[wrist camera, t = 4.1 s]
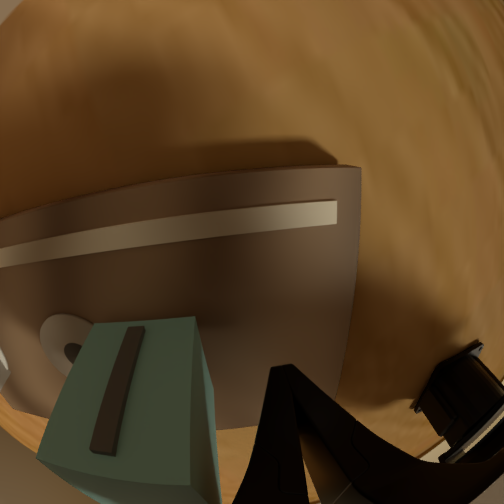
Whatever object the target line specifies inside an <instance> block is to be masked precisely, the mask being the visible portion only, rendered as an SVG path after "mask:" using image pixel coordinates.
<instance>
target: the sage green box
mask: <svg viewBox="0 0 504 504" xmlns="http://www.w3.org/2000/svg"><path fill="white" fill-rule="evenodd" d="M36 459H38V460H39V461H40V462H41V463H42V464H44V465H45V466H46V467H47V468H49V469H50V470H51V471H52V472H54V473H55V474H57V475H58V476H59V477H61V478H62V479H63V480H65V481H66V482H68V483H69V484H70V485H72V486H73V487H75V488H76V489H78V490H79V491H81V492H82V493H84V494H86V495H87V496H89V497H91V498H92V499H94V500H96V501H97V502H99V503H101V504H222V498H221V488H220V478H219V467H218V454H217V441H216V425H215V408H214V389H213V385H212V382H211V378H210V374H209V371H208V367H207V363H206V359H205V355H204V351H203V347H202V343H201V339H200V335H199V331H198V326H197V322H196V318H195V316H192V317H181V318H170V319H158V320H145V321H130V322H112V323H94V325H93V327H92V329H91V331H90V332H89V334H88V336H87V338H86V340H85V342H84V344H83V346H82V348H81V350H80V352H79V354H78V356H77V358H76V360H75V362H74V364H73V366H72V368H71V370H70V372H69V374H68V376H67V379H66V381H65V383H64V385H63V387H62V390H61V392H60V394H59V397H58V399H57V401H56V404H55V406H54V409H53V411H52V413H51V416H50V419H49V421H48V424H47V426H46V429H45V432H44V435H43V437H42V440H41V443H40V446H39V449H38V452H37V456H36Z"/></svg>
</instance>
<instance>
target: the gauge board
mask: <svg viewBox="0 0 504 504" xmlns="http://www.w3.org/2000/svg"><path fill="white" fill-rule="evenodd" d="M360 218H361V167H356V166H351V165H306V166H285V167H269V168H256V169H244V170H233V171H224V172H215V173H206V174H198V175H191V176H183V177H176V178H170V179H163V180H157V181H151V182H145V183H140V184H134V185H129V186H123V187H118V188H113V189H109V190H104V191H99V192H95V193H90V194H86V195H82V196H78V197H73V198H69V199H65V200H62V201H58V202H54V203H50V204H47V205H43V206H40V207H36V208H33V209H29V210H26V211H23V212H20V213H16V214H13V215H10V216H7V217H4V218H1V219H0V393H1V394H2V396H3V397H4V398H5V400H6V401H7V402H8V403H9V405H10V406H11V407H12V408H13V409H15V410H19V411H22V412H25V413H29V414H33V415H36V416H40V417H44V418H48V419H50V416H51V413H52V411H53V409H54V406H55V404H56V401H57V399H58V397H59V394H60V392H61V390H62V387H63V385H64V383H65V381H66V379H67V376H68V374H69V372H70V370H71V368H72V366H73V364H74V362H75V360H76V358H77V356H78V354H79V352H80V350H81V348H82V346H83V344H84V342H85V340H86V338H87V336H88V334H89V332H90V331H91V329H92V327H93V325H94V323H112V322H130V321H145V320H158V319H170V318H181V317H192V316H195V318H196V322H197V326H198V331H199V335H200V339H201V343H202V347H203V351H204V355H205V359H206V363H207V367H208V371H209V374H210V378H211V382H212V385H213V389H214V408H215V425H216V430H223V429H234V428H242V427H250V426H257V425H259V420H260V415H261V411H262V406H263V401H264V396H265V391H266V386H267V381H268V376H269V371H270V368H271V367H272V366H278V365H284V364H290V363H292V364H294V365H295V366H296V367H297V368H298V369H299V370H300V371H301V372H302V373H304V374H305V375H306V376H307V377H308V378H309V379H310V380H311V381H312V382H314V383H315V384H316V385H317V386H318V387H319V388H320V389H321V390H323V391H324V392H325V393H326V394H327V395H328V396H329V397H331V398H332V399H333V400H334V401H335V398H336V394H337V390H338V385H339V381H340V376H341V371H342V366H343V361H344V356H345V351H346V345H347V340H348V334H349V328H350V321H351V314H352V307H353V300H354V292H355V283H356V274H357V263H358V251H359V237H360Z"/></svg>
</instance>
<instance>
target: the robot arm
mask: <svg viewBox="0 0 504 504" xmlns="http://www.w3.org/2000/svg"><path fill="white" fill-rule="evenodd" d="M483 346H484V344H482V343H481V342H479V343H478V344H476V345H474V346H473V347H471V348H469V349H467V350H466V351H464V352H462V353H460V354H458V355H456V356H455V357H453V358H451V359H449V360H447V361H445V362H443V363H441V364H439V365H438V366H437V368H436V369H435V371H434V373H433V375H432V377H431V379H430V381H429V383H428V385H427V387H426V389H425V391H424V393H423V394H422V396H421V398H420V400H419V402H418V403H417V405H416V407H415V409H414V411H415V413H416V414H417V413H419V412H421V411H423V413H424V414H425V416H426V417H427V419H428V420H429V422H430V423H431V425H432V427H433V428H434V430H435V431H436V433H437V434H438V436H440V437H441V436H444V438H445V440H446V441H447V443H448V444H449V446H450V447H451V448H450V449H449V450H448V451H447V452H445V453H443V454H442V455H440V456H439V457H438V459H439V462H440V463H434V462H427V461H423V460H420V459H417V458H415V457H413V456H411V455H409V454H408V453H406V452H404V451H402V450H400V449H399V448H397V447H395V446H393V445H392V444H390V443H388V442H387V441H385V440H383V439H382V438H380V437H379V436H377V435H376V434H374V433H373V432H372V431H370V430H369V429H368V428H366V427H365V426H364V425H363V424H361V423H360V422H359V421H356V419H355V418H354V417H353V416H352V415H350V414H349V413H348V412H347V411H346V410H345V409H343V408H342V407H341V406H340V405H339V404H338V403H336V402H335V401H334V400H333V399H332V398H331V397H329V396H328V395H327V394H326V393H325V392H324V391H323V390H321V389H320V388H319V387H318V386H317V385H316V384H315V383H314V382H312V381H311V380H310V379H309V378H308V377H307V376H306V375H305V374H304V373H302V372H301V371H300V370H299V369H298V368H297V367H296V366H295V365H294V364H292V363H290V364H284V365H278V366H272V367H271V368H270V371H269V376H268V381H267V386H266V391H265V396H264V401H263V406H262V411H261V415H260V420H259V425H258V429H257V434H256V438H255V444H254V446H253V451H252V455H251V458H250V462H249V465H248V468H247V471H246V473H245V476H244V479H243V481H242V483H241V485H240V488H239V490H238V492H237V494H236V496H235V498H234V501H233V503H232V504H309V498H308V491H307V484H306V477H305V470H304V463H303V459H304V462H305V464H306V467H307V469H308V472H309V474H310V477H311V479H312V482H313V484H314V487H315V489H316V492H317V494H318V497H319V499H320V502H321V504H504V417H503V418H502V419H501V420H500V421H499V422H498V423H497V424H496V425H495V426H494V427H493V429H491V431H489V432H488V433H487V435H485V436H484V437H483V438H482V439H481V440H480V441H479V442H478V443H477V444H476V445H475V446H474V447H472V448H471V449H470V450H469V451H468V452H467V453H465V452H464V451H463V450H465V449H466V448H467V447H468V446H469V445H470V444H471V443H473V442H474V441H475V440H476V439H477V438H478V437H479V436H480V435H481V434H482V433H483V432H484V431H485V430H486V429H487V428H488V427H489V426H490V425H491V424H492V423H493V422H494V421H495V420H496V419H497V418H498V417H499V416H500V415H501V413H502V412H503V411H504V386H503V384H502V383H501V382H500V381H499V380H498V379H497V378H496V377H495V375H494V374H493V373H492V372H491V371H490V370H489V369H488V368H487V367H486V366H485V365H484V364H483V362H482V361H481V360H480V359H479V358H478V356H479V355H480V353H481V350H482V348H483ZM302 456H303V457H302Z"/></svg>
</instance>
